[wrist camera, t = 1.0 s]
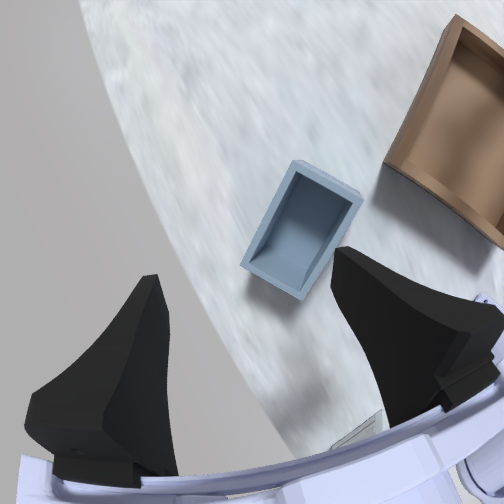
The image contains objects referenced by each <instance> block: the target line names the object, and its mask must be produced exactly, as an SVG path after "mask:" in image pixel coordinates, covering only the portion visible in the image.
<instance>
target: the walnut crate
mask: <svg viewBox="0 0 504 504" xmlns="http://www.w3.org/2000/svg"><path fill="white" fill-rule="evenodd" d="M383 163H385V164H386V165H388V166H390V167H391V168H393V169H394V170H396V171H397V172H399V173H401V174H402V175H404V176H405V177H407V178H408V179H410V180H411V181H413V182H414V183H416V184H417V185H418V186H420V187H421V188H423V189H424V190H426V191H427V192H428V193H430V194H431V195H433V196H434V197H435V198H437V199H438V200H440V201H441V202H442V203H444V204H445V205H446V206H448V207H449V208H450V209H451V210H453V211H454V212H455V213H457V214H458V215H459V216H460V217H462V218H463V219H464V220H465V221H467V222H468V223H469V224H470V225H472V226H473V227H474V228H475V229H476V230H478V231H479V232H480V233H481V234H482V235H483V236H485V237H486V238H487V239H488V240H489V241H490V242H492V243H493V244H495V245H496V246H498V247H499V248H501V249H502V250H503V251H504V49H503V48H502V47H500V46H499V45H498V44H497V43H495V42H494V41H493V40H492V39H490V38H489V37H488V36H487V35H485V34H484V33H483V32H481V31H480V30H479V29H477V28H476V27H474V26H473V25H472V24H470V23H469V22H467V21H466V20H464V19H463V18H461V17H460V16H458V15H457V14H455V16H454V17H453V18H452V20H451V21H450V22H449V24H448V25H447V26H446V28H445V29H444V31H443V33H442V36H441V38H440V41H439V43H438V46H437V48H436V50H435V53H434V55H433V58H432V60H431V62H430V65H429V67H428V69H427V72H426V74H425V76H424V78H423V81H422V83H421V85H420V87H419V90H418V92H417V94H416V96H415V98H414V100H413V102H412V105H411V107H410V109H409V111H408V113H407V115H406V117H405V119H404V121H403V123H402V125H401V127H400V129H399V131H398V133H397V135H396V137H395V139H394V141H393V143H392V145H391V147H390V149H389V151H388V153H387V155H386V157H385V159H384V161H383Z"/></svg>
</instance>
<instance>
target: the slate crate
mask: <svg viewBox="0 0 504 504" xmlns="http://www.w3.org/2000/svg"><path fill="white" fill-rule="evenodd" d="M363 201H364V199H363V198H362V196H361V194H360V192H358V191H357V190H355V189H353V188H352V187H350V186H348V185H347V184H345V183H343V182H341V181H340V180H338V179H336V178H334V177H333V176H331V175H329V174H327V173H325V172H324V171H322V170H320V169H318V168H316V167H314V166H312V165H311V164H309V163H307V162H305V161H303V160H292V162H291V164H290V166H289V168H288V170H287V172H286V174H285V176H284V178H283V180H282V182H281V184H280V186H279V188H278V190H277V192H276V194H275V196H274V198H273V200H272V202H271V204H270V206H269V208H268V210H267V212H266V214H265V216H264V218H263V220H262V222H261V224H260V226H259V228H258V230H257V232H256V234H255V236H254V238H253V240H252V242H251V244H250V246H249V248H248V250H247V252H246V254H245V256H244V258H243V260H242V262H241V264H240V266H242V267H243V268H245V269H247V270H248V271H250V272H252V273H254V274H255V275H257V276H259V277H260V278H262V279H264V280H266V281H267V282H269V283H271V284H273V285H274V286H276V287H278V288H279V289H281V290H283V291H285V292H286V293H288V294H290V295H292V296H293V297H295V298H297V299H299V300H300V301H303V299H304V298H305V296H306V295H307V293H308V292H309V290H310V289H311V287H312V286H313V284H314V282H315V281H316V279H317V278H318V276H319V275H320V273H321V271H322V270H323V268H324V267H325V265H326V263H327V262H328V260H329V259H330V257H331V255H332V254H333V252H334V250H335V248H336V247H337V246H338V244H339V242H340V241H341V239H342V237H343V236H344V234H345V232H346V230H347V229H348V227H349V225H350V224H351V222H352V220H353V219H354V217H355V215H356V213H357V212H358V210H359V208H360V206H361V205H362V203H363Z"/></svg>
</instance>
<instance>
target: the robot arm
mask: <svg viewBox="0 0 504 504" xmlns="http://www.w3.org/2000/svg"><path fill="white" fill-rule="evenodd" d="M330 287H331V290H332V292H333V295H334V297H335V300H336V302H337V304H338V306H339V308H340V310H341V312H342V313H343V315H344V317H345V319H346V320H347V322H348V324H349V325H350V327H351V329H352V330H353V332H354V334H355V336H356V337H357V339H358V341H359V343H360V344H361V346H362V348H363V350H364V352H365V354H366V357H367V359H368V361H369V364H370V366H371V369H372V371H373V374H374V377H375V379H376V382H377V385H378V388H379V391H380V394H381V397H382V400H383V404H384V407H385V411H386V415H387V419H388V423H389V427H390V429H388V430H386V431H383V432H381V433H378V434H376V435H373V436H371V437H368V438H365V439H363V440H360V441H357V442H354V443H351V444H349V445H346V446H343V447H339V448H336V449H333V450H330V451H327V452H323V453H320V454H316V455H312V456H309V457H305V458H301V459H297V460H293V461H289V462H284V463H279V464H275V465H270V466H265V467H259V468H254V469H247V470H241V471H233V472H226V473H217V474H207V475H194V476H179V475H178V470H177V465H176V460H175V455H174V449H173V442H172V436H171V428H170V420H169V410H168V398H167V369H168V355H169V341H170V324H169V311H168V308H167V305H166V302H165V298H164V295H163V291H162V288H161V285H160V281H159V278H158V275H157V274H155V275H147V276H143V277H142V278H141V279H140V281H139V282H138V284H137V286H136V287H135V288H134V290H133V291H132V293H131V295H130V296H129V298H128V299H127V301H126V302H125V304H124V305H123V306H122V308H121V309H120V311H119V312H118V314H117V315H116V316H115V318H114V319H113V320H112V322H111V323H110V324H109V326H108V327H107V328H106V330H105V331H104V332H103V333H102V334H101V335H100V337H99V338H98V339H97V340H96V341H95V342H94V343H93V344H92V345H91V347H90V348H89V349H87V350H86V351H85V352H84V353H83V354H82V355H81V356H80V357H79V358H78V359H77V360H76V361H75V362H74V363H73V364H72V365H71V366H70V367H68V368H67V369H66V370H65V371H63V372H62V373H61V374H60V375H58V376H57V377H56V378H54V379H53V380H52V381H51V382H49V383H47V384H46V385H45V386H43V387H42V388H40V389H39V390H37V391H36V392H34V393H33V394H32V396H31V399H30V403H29V407H28V411H27V415H26V419H25V424H24V427H25V430H26V432H27V433H28V435H29V436H30V437H31V438H32V439H33V440H35V441H36V442H37V443H38V444H40V445H41V446H43V447H44V448H45V449H47V450H48V451H49V452H51V453H52V454H54V463H53V462H51V461H49V460H46V459H42V458H37V457H33V456H29V455H24V454H23V455H22V456H21V463H20V470H19V478H18V488H17V502H16V504H463V502H462V500H461V498H460V496H459V493H458V491H457V489H456V487H455V485H454V483H453V480H452V478H451V476H450V474H449V472H448V469H450V468H451V467H453V466H454V465H456V470H457V473H458V476H459V479H460V481H461V483H462V485H463V486H464V488H465V489H466V490H467V491H468V492H469V493H470V494H471V495H473V496H475V497H476V498H478V499H479V500H480V501H481V502H482V504H504V310H503V309H502V308H501V307H500V306H499V305H498V304H496V303H495V302H494V301H493V300H491V299H490V298H489V297H488V296H487V295H485V294H484V293H481V294H479V295H478V297H477V298H476V299H475V301H470V300H466V299H462V298H458V297H454V296H451V295H448V294H445V293H442V292H439V291H436V290H433V289H430V288H428V287H426V286H423V285H421V284H419V283H416V282H414V281H412V280H410V279H408V278H406V277H404V276H402V275H400V274H398V273H396V272H394V271H392V270H390V269H389V268H387V267H385V266H383V265H382V264H380V263H378V262H376V261H375V260H373V259H371V258H369V257H368V256H366V255H364V254H362V253H361V252H359V251H357V250H355V249H353V248H351V247H349V246H346V247H339V248H335V253H334V262H333V270H332V278H331V286H330ZM484 300H486V302H485V303H483V302H484ZM281 486H282V487H281ZM276 487H280V488H277V489H273V490H269V491H265V492H261V493H257V494H252V495H247V496H242V497H237V498H232V499H228V498H227V497H226V495H233V494H241V493H249V492H255V491H261V490H266V489H272V488H276Z"/></svg>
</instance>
